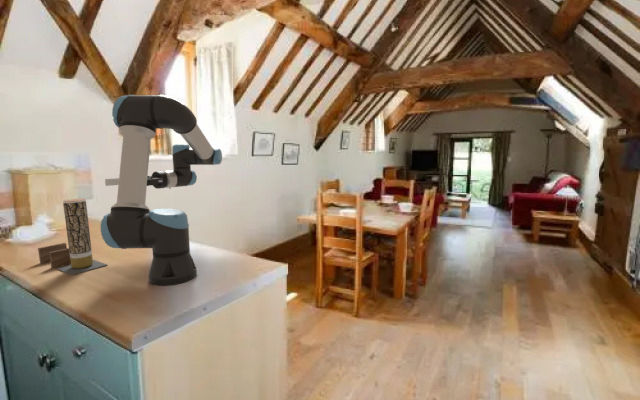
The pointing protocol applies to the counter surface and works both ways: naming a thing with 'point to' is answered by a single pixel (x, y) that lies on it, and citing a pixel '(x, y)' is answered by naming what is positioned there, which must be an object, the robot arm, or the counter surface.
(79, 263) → the paper tube
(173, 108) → the robot arm
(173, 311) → the counter surface
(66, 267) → the mat
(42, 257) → the board
